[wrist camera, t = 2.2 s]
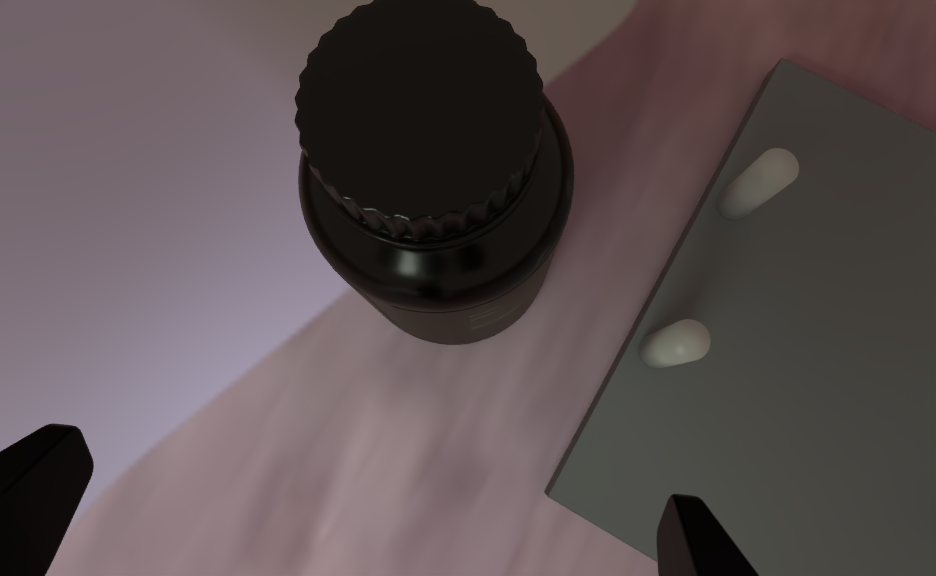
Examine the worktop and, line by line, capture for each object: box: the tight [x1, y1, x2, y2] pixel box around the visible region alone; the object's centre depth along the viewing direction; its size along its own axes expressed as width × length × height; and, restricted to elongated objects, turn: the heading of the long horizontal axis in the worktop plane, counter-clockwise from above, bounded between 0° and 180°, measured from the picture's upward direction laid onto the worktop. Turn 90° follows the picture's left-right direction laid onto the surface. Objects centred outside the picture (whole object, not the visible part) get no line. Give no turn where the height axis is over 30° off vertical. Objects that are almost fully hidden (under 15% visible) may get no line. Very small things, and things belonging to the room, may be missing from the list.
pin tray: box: [545, 58, 936, 576], centre depth 20 cm, size 18×13×5 cm
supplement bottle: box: [295, 0, 574, 345], centre depth 18 cm, size 7×7×12 cm
